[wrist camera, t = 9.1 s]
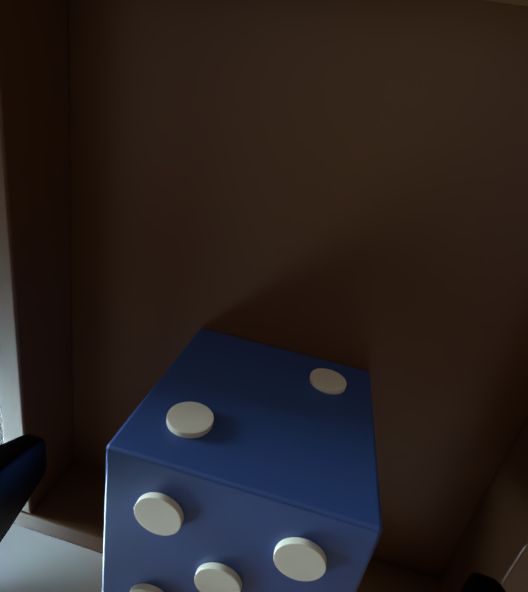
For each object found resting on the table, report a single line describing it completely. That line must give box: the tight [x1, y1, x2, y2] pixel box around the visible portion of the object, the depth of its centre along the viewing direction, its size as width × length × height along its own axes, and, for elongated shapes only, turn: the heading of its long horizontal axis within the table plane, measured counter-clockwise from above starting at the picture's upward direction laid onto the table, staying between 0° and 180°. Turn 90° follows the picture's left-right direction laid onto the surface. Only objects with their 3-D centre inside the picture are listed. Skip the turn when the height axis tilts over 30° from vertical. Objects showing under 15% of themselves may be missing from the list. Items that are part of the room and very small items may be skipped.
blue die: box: [102, 328, 383, 592], centre depth 9 cm, size 5×4×5 cm
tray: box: [0, 0, 528, 592], centre depth 9 cm, size 15×13×3 cm
